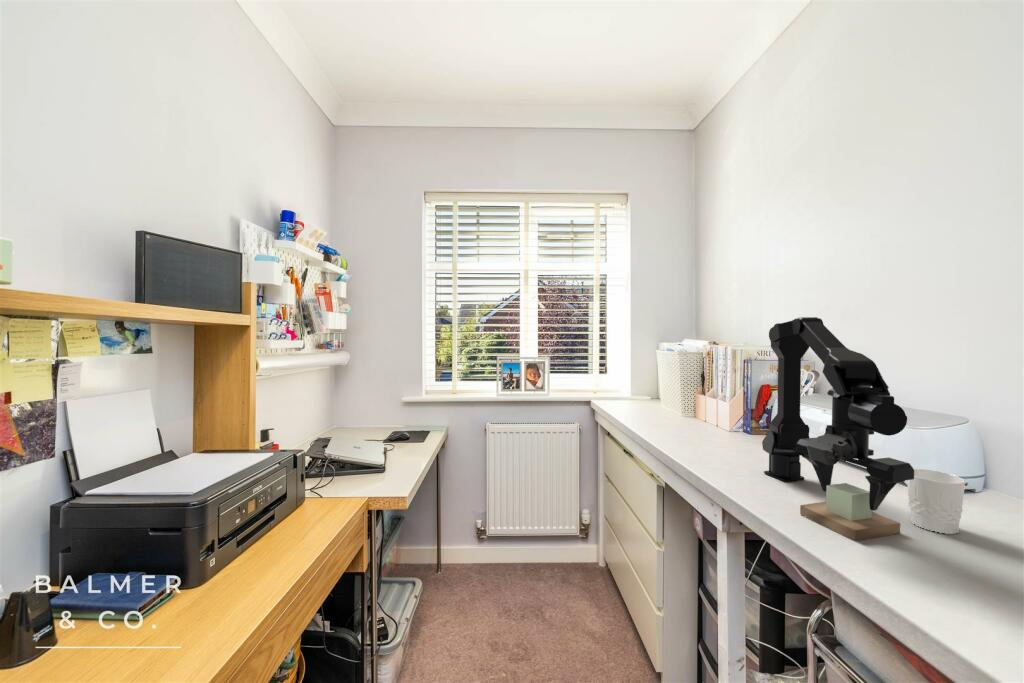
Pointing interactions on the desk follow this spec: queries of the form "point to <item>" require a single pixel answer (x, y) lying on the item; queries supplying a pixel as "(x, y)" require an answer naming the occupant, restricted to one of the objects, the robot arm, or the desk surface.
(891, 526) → the base slab
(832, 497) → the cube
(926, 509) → the white cup
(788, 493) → the desk surface
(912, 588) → the desk surface
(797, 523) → the desk surface
